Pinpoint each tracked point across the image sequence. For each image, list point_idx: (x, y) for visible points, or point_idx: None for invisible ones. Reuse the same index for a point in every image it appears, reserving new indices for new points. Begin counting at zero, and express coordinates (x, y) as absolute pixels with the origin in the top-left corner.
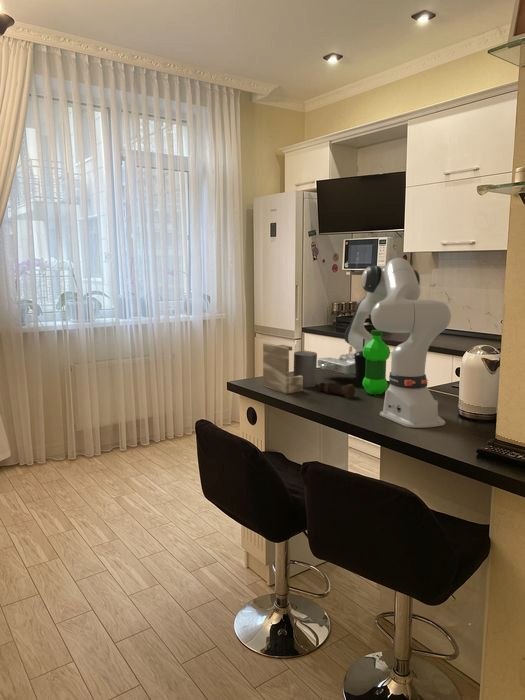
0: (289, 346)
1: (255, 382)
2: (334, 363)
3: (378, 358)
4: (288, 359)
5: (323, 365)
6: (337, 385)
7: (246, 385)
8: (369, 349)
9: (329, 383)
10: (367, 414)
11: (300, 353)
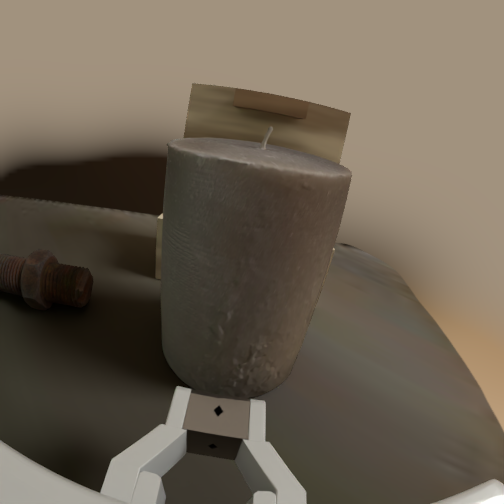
0: (248, 90)
1: (364, 277)
2: (115, 498)
3: None
4: (186, 124)
5: (218, 395)
6: (2, 255)
7: (335, 252)
8: None
9: (34, 251)
10: None
11: (260, 144)
